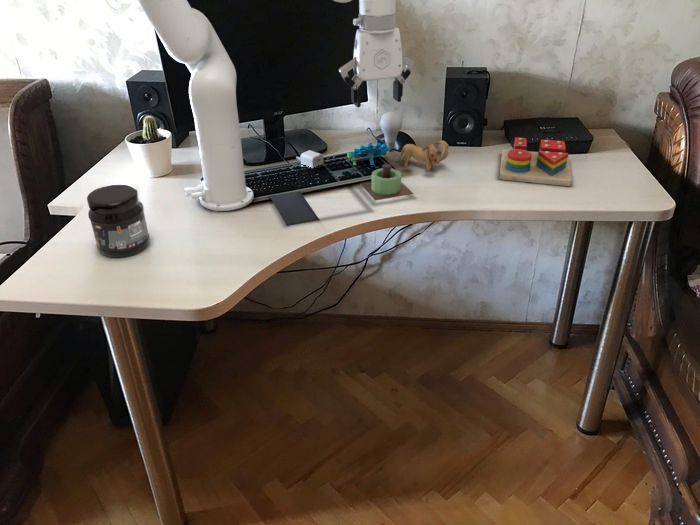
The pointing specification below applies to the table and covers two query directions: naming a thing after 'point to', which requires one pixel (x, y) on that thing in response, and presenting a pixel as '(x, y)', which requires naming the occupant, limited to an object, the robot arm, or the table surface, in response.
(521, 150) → the shape sorter
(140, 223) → the supplement container
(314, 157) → the usb wall charger
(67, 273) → the table surface
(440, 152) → the lion figurine
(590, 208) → the table surface
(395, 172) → the ring
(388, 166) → the stand
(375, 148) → the dinosaur figurine
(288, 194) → the mat
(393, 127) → the lightbulb
